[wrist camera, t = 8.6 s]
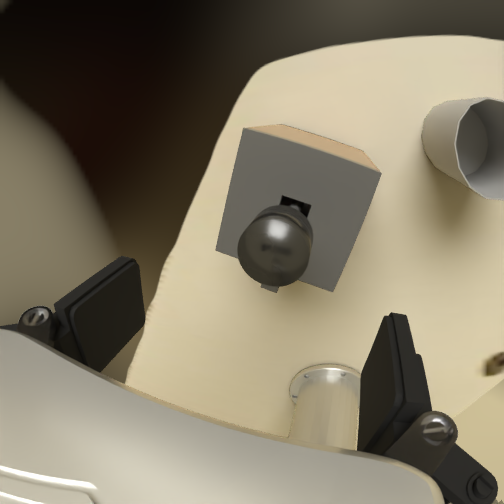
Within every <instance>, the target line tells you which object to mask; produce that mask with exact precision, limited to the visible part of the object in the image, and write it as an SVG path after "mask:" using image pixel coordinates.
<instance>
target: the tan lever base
mask: <svg viewBox="0 0 504 504" xmlns="http://www.w3.org/2000/svg"><path fill="white" fill-rule="evenodd" d="M381 174H382V173H381V172H380V171H379V169H378V168H377V167H376V166H375V164H374V163H373V162H372V161H371V160H370V158H369V157H368V156H367V155H366V154H365V153H364V151H362V150H359V149H356V148H354V147H351V146H348V145H345V144H343V143H340V142H337V141H334V140H331V139H328V138H325V137H322V136H319V135H316V134H313V133H309V132H306V131H303V130H300V129H296V128H293V127H290V126H286V125H283V124H279V125H268V126H258V127H249V128H243V132H242V136H241V140H240V144H239V148H238V152H237V157H236V161H235V165H234V169H233V173H232V178H231V182H230V186H229V191H228V195H227V200H226V204H225V208H224V213H223V218H222V222H221V227H220V231H219V236H218V241H217V245H216V251H218V252H221V253H224V254H227V255H229V256H232V257H235V258H238V253H237V247H238V242H239V239H240V237H241V235H242V233H243V232H244V231H245V229H246V228H247V227H248V226H249V225H250V223H251V222H252V221H253V220H254V218H255V217H256V216H257V215H258V214H259V213H260V212H261V211H262V210H264V209H266V208H268V207H270V206H275V205H281V202H282V198H283V196H286V197H289V198H292V199H295V200H298V201H301V202H304V203H307V204H310V205H311V208H310V211H309V214H308V215H307V214H304V213H302V214H303V215H305V217H306V218H307V219H308V220H309V222H310V224H311V226H312V229H313V235H314V239H313V245H312V249H311V254H310V258H309V262H308V266H307V268H306V271H305V272H304V274H303V275H302V276H301V277H300V278H299V279H298V280H299V281H302V282H305V283H308V284H311V285H314V286H316V287H319V288H322V289H325V290H328V291H331V292H333V291H334V289H335V286H336V284H337V282H338V280H339V278H340V275H341V273H342V271H343V269H344V266H345V264H346V262H347V260H348V257H349V255H350V253H351V250H352V248H353V246H354V243H355V241H356V238H357V236H358V234H359V231H360V229H361V226H362V224H363V221H364V219H365V216H366V214H367V211H368V209H369V206H370V203H371V201H372V198H373V196H374V193H375V190H376V187H377V185H378V182H379V179H380V176H381ZM238 259H239V258H238ZM261 288H264V289H267V290H270V291H272V292H275V293H277V291H278V288H279V286H278V287H275V286H267V285H264V284H261Z"/></svg>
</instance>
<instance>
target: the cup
mask: <svg viewBox="0 0 504 504" xmlns="http://www.w3.org/2000/svg"><path fill="white" fill-rule="evenodd" d="M421 136H422V141H423V145H424V150H425V153H426V155H427V156H428V158H429V159H430V161H431V162H432V164H433V165H434V167H436V168H437V169H439V170H440V171H442V172H444V173H445V174H447V175H448V176H450V177H452V178H453V179H455V180H457V181H458V182H460V183H462V184H463V185H465V186H466V187H468V188H470V189H471V190H473V191H474V192H476V193H477V194H479V195H481V196H482V197H484V198H485V199H493V200H504V101H502V100H498V99H493V98H489V97H483V98H471V99H461V100H452V101H446V102H444V103H441V104H439V105H437V106H434V107H433V108H432V110H431V111H430V112H429V114H428V115H427V116H426V118H425V119H424V124H423V130H422V135H421Z"/></svg>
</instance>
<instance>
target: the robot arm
mask: <svg viewBox="0 0 504 504" xmlns="http://www.w3.org/2000/svg"><path fill="white" fill-rule="evenodd" d="M54 307H55V311H56V312H55V313H52V311H51V309H50V308H48V307H46V306H36V307H32V308H30V309H28V310H26V311H25V312H24V313H23V314H22V315H21V317H20V319H19V322H18V324H12V325H6V326H0V504H504V503H503V502H502V500H501V501H500V502H497V500H496V496H497V491H498V486H497V481H496V479H495V477H494V476H493V475H492V474H491V473H490V472H489V471H488V470H487V469H485V468H484V467H483V466H482V465H481V464H479V463H478V462H477V461H476V460H475V459H473V458H472V457H471V456H470V455H469V454H467V453H466V452H465V451H464V450H463V449H461V448H460V447H459V446H458V445H457V444H456V443H455V442H456V440H457V437H458V430H457V426H456V424H455V423H454V421H453V420H452V419H451V418H450V417H449V416H448V415H446V414H444V413H442V412H439V411H432V407H431V401H430V395H429V390H428V385H427V380H426V375H425V370H424V366H423V361H422V358H421V355H419V354H416V352H415V348H414V344H413V339H412V335H411V331H410V327H409V323H408V319H407V316H406V315H403V314H398V313H392V312H391V313H390V314H389V316H384V317H383V320H382V322H381V325H380V328H379V330H378V333H377V336H376V338H375V341H374V343H373V346H372V348H371V351H370V353H369V356H368V358H367V360H366V363H365V365H364V368H363V370H362V373H361V374H359V373H358V372H357V371H355V370H353V369H351V368H348V367H345V366H341V365H334V364H323V365H316V366H312V367H309V368H306V369H304V370H303V371H301V372H299V373H298V374H297V375H296V376H295V377H294V378H293V380H292V382H291V385H290V390H289V391H290V397H291V399H292V401H293V402H294V403H295V404H296V407H295V411H294V415H293V420H292V424H291V428H290V432H289V436H288V438H287V437H282V436H277V435H273V434H269V433H265V432H261V431H257V430H253V429H249V428H245V427H242V426H238V425H235V424H231V423H228V422H224V421H221V420H218V419H215V418H211V417H208V416H205V415H202V414H199V413H196V412H193V411H190V410H188V409H185V408H182V407H179V406H176V405H174V404H171V403H168V402H166V401H163V400H161V399H158V398H156V397H153V396H151V395H148V394H146V393H143V392H141V391H139V390H136V389H134V388H132V387H129V386H127V385H125V384H123V383H121V382H118V381H116V380H114V379H112V378H110V377H108V376H105V375H103V374H101V373H100V372H101V371H102V370H103V369H104V368H105V367H106V366H107V365H108V364H109V362H110V361H111V360H112V359H113V358H114V357H115V356H116V355H117V353H119V352H120V350H121V349H122V348H123V347H124V346H125V345H126V344H127V342H129V340H131V338H132V337H133V336H134V335H135V334H136V333H137V332H138V331H139V330H140V329H141V328H142V327H143V325H144V323H145V311H144V304H143V296H142V288H141V278H140V269H139V265H138V264H137V262H136V260H135V259H133V258H129V257H124V256H121V257H119V258H118V259H116V260H115V261H114V262H112V263H110V264H109V265H107V266H106V267H105V268H103V269H102V270H100V271H99V272H97V273H96V274H95V275H93V276H92V277H90V278H89V279H88V280H86V281H85V282H84V283H82V284H81V285H79V286H78V287H76V288H75V289H74V290H73V291H71V292H70V293H68V294H67V295H65V296H64V297H63V298H61V299H60V300H59V301H57V302H56V303H55V304H54ZM359 407H360V408H359ZM358 408H359V429H358V444H357V451H356V450H355V443H356V429H357V412H358Z"/></svg>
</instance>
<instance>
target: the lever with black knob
mask: <svg viewBox="0 0 504 504" xmlns="http://www.w3.org/2000/svg"><path fill="white" fill-rule="evenodd" d="M310 208H311V205H310V204H307V203H304V202H301V201H298V200H295V199H292V198H289V197H286V196H283V198H282V202H281V205H275V206H270V207H268V208H266V209H264V210H262V211H261V212H260V213H259V214H258V215H257V216H256V217H255V218H254V220H253V221H252V222H251V223H250V225H249V226H248V227H247V228H246V229H245V231H244V232H243V233H242V235H241V237H240V239H239V242H238V247H237V253H238V258H239V261H240V264H241V266H242V268H243V269H244V271H245V272H246V273H247V274H248V275H249V276H250V277H251V278H253V279H254V280H255V281H257V282H259V283H261V284H264V285H267V286H275V287H278V286H285V285H289V284H291V283H293V282H295V281H297V280H298V279H299V278H300V277H301V276H302V275H303V274H304V272H305V271H306V268H307V266H308V262H309V258H310V254H311V249H312V245H313V239H314V235H313V229H312V226H311V224H310V222H309V220H308V219H307V218H306V217H305V215H303V214H302V213H304V214H307V215H308V214H309V211H310Z"/></svg>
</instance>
